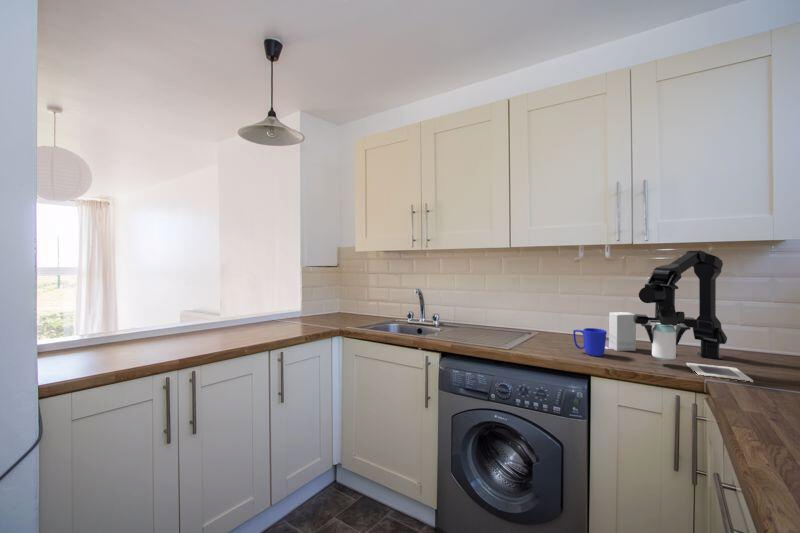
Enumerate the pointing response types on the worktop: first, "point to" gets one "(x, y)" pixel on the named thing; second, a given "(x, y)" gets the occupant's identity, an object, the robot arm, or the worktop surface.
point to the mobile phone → (607, 345)
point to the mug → (592, 341)
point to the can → (664, 342)
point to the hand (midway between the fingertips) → (663, 344)
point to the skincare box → (622, 331)
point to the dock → (718, 371)
